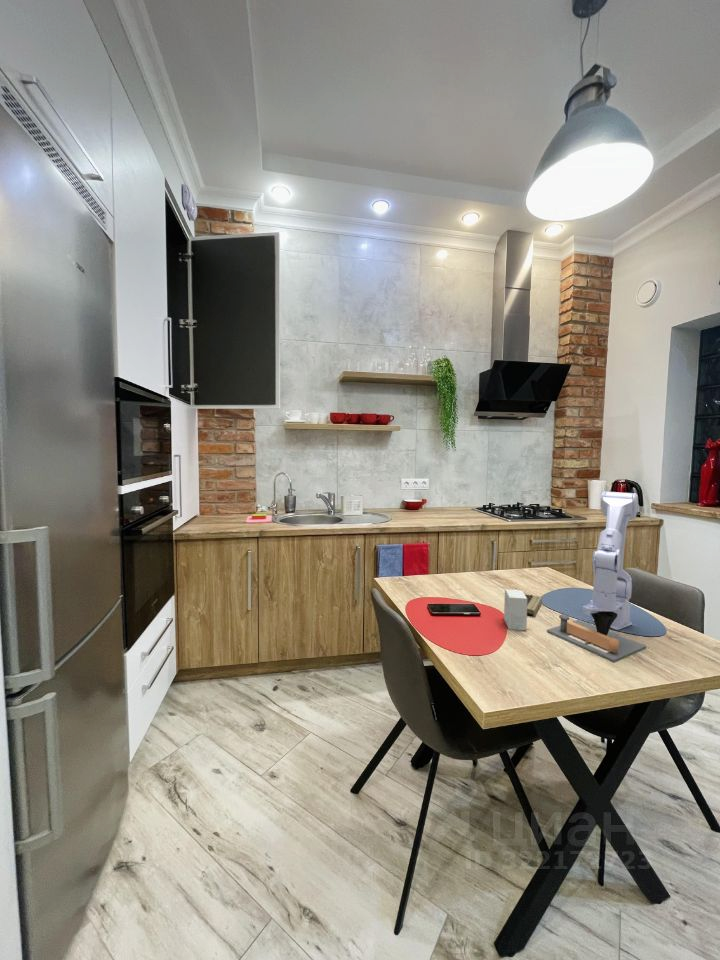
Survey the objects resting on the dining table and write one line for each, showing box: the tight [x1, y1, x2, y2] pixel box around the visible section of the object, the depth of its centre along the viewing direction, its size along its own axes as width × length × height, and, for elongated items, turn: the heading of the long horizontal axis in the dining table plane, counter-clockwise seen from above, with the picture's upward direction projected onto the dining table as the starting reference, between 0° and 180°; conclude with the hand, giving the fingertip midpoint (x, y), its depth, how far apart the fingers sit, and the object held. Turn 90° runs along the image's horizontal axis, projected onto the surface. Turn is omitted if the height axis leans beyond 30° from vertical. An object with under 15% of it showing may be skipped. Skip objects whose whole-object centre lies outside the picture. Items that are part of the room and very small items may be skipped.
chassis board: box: [546, 614, 647, 663], centre depth 115 cm, size 17×20×5 cm
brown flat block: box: [524, 594, 543, 618], centre depth 139 cm, size 16×8×3 cm, turn 146°
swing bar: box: [567, 620, 619, 653], centre depth 111 cm, size 2×14×3 cm, turn 29°
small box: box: [503, 588, 528, 631], centre depth 124 cm, size 8×6×10 cm
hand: (602, 634), depth 113 cm, fingers closed
